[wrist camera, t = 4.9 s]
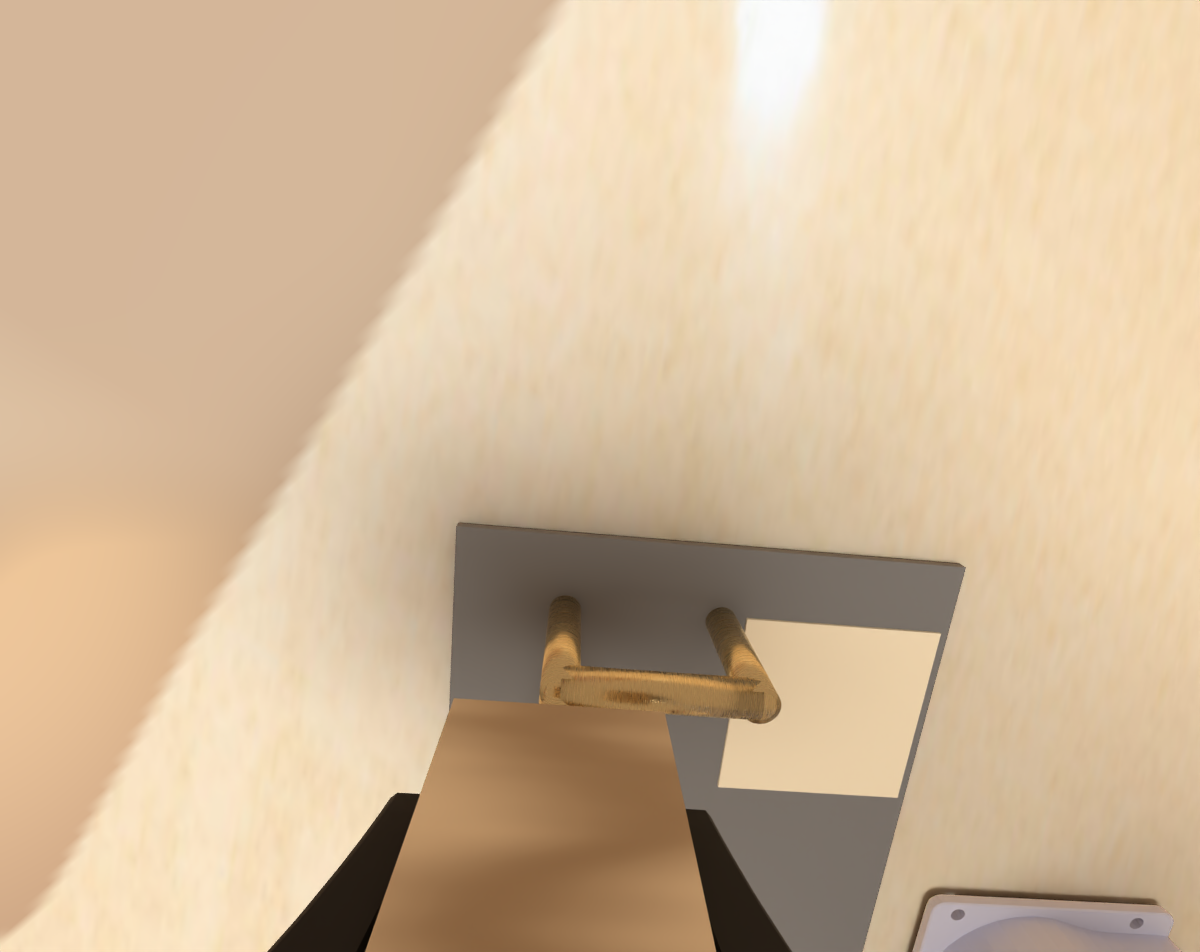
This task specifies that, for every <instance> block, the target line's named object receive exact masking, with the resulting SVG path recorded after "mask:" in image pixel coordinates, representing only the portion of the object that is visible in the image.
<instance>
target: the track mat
mask: <svg viewBox="0 0 1200 952" xmlns="http://www.w3.org/2000/svg"><path fill="white" fill-rule="evenodd" d="M965 568H966V567H964V566H962V565H961V564H956V563H944V562H931V561H919V560H907V559H895V558H882V557H870V556H858V555H846V554H833V553H821V552H809V551H797V550H784V549H772V548H760V547H748V546H735V545H723V544H711V543H699V542H686V541H674V540H662V539H650V538H637V537H625V536H613V535H601V534H588V533H576V532H564V531H552V530H539V529H527V528H515V527H503V526H490V525H478V524H466V523H458V524H457V526H456V550H455V576H454V602H453V628H452V654H451V680H450V706H449V711H450V708H451V705H452V702H453V699H454V698H458V699H473V700H489V701H504V702H520V703H535V704H539V695H540V694H539V692H540V683H541V675H542V666H543V658H544V650H545V641H546V633H547V625H548V616H549V608H550V605H551V603H552V601H553V600H554V599H556V598H557V597H559V596H564V595H567V596H571V597H573V598H575V599H576V600H577V601H578V602H579V604H580V606H581V666H590V667H604V668H619V669H633V670H648V671H662V672H676V673H691V674H705V675H719V676H727V675H726V673H725V671H724V668H723V666H722V663H721V661H720V659H719V656H718V654H717V651H716V649H715V647H714V644H713V642H712V639H711V637H710V635H709V632H708V630H707V627H706V623H705V622H706V617H707V615H708V614H709V613H710V612H711V611H712V610H714V609H716V608H720V607H724V608H728V609H730V610H732V611H733V612H734V614H735V616H736V617H737V619H738V621H739V623H740V625H741V627H742V629H743V630H744V632H745V634H746V636H747V638H748V640H749V642H750V643H751V645H752V647H753V649H754V651H755V653H756V655H757V656H758V658H759V660H760V662H761V664H762V666H763V668H764V669H765V671H766V673H767V675H768V677H769V679H770V681H771V683H772V684H773V686H774V688H775V690H776V692H777V694H778V696H779V697H780V700H781V710H780V713H779V714H778V716H777V717H776V718H775V719H773V720H772V721H770V722H768V723H764V724H755V723H752V722H750V721H748V720H744V719H729V718H714V717H698V716H683V715H668V714H665V716H666V721H667V726H668V730H669V735H670V739H671V744H672V749H673V753H674V758H675V763H676V767H677V772H678V777H679V781H680V786H681V791H682V795H683V800H684V804H685V809H696V810H706V811H707V813H708V814H709V815H710V816H711V818H712V820H713V822H714V824H715V825H716V827H717V829H718V831H719V833H720V835H721V836H722V838H723V840H724V842H725V844H726V845H727V847H728V849H729V851H730V852H731V854H732V856H733V858H734V859H735V861H736V863H737V865H738V866H739V868H740V870H741V871H742V873H743V875H744V876H745V878H746V880H747V881H748V883H749V885H750V886H751V888H752V890H753V891H754V893H755V895H756V896H757V898H758V899H759V901H760V903H761V904H762V906H763V907H764V909H765V911H766V912H767V914H768V915H769V917H770V918H771V920H772V921H773V923H774V925H775V926H776V928H777V929H778V931H779V932H780V934H781V935H782V937H783V938H784V940H785V942H786V943H787V945H788V946H789V948H790V949H791V951H792V952H862V951H863V948H864V944H865V940H866V936H867V933H868V929H869V925H870V921H871V918H872V914H873V910H874V907H875V903H876V899H877V895H878V892H879V888H880V884H881V881H882V877H883V873H884V869H885V866H886V862H887V858H888V855H889V851H890V847H891V843H892V840H893V836H894V832H895V829H896V825H897V821H898V817H899V814H900V810H901V806H902V802H903V799H904V795H905V791H906V788H907V784H908V780H909V776H910V773H911V769H912V765H913V762H914V758H915V754H916V750H917V747H918V743H919V739H920V736H921V732H922V728H923V724H924V721H925V717H926V713H927V710H928V706H929V702H930V698H931V695H932V691H933V687H934V683H935V680H936V676H937V672H938V669H939V665H940V661H941V657H942V654H943V650H944V646H945V643H946V639H947V635H948V631H949V628H950V624H951V620H952V617H953V613H954V609H955V605H956V602H957V598H958V594H959V591H960V587H961V583H962V579H963V576H964V572H965Z"/></svg>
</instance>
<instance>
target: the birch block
mask: <svg viewBox="0 0 1200 952" xmlns="http://www.w3.org/2000/svg"><path fill="white" fill-rule="evenodd" d="M365 952H716V948H715V944H714V939H713V934H712V930H711V925H710V920H709V916H708V911H707V907H706V902H705V897H704V893H703V888H702V883H701V879H700V874H699V869H698V865H697V860H696V855H695V851H694V846H693V842H692V837H691V832H690V828H689V823H688V818H687V814H686V809H685V804H684V800H683V795H682V791H681V786H680V781H679V777H678V772H677V767H676V763H675V758H674V753H673V749H672V744H671V739H670V735H669V730H668V726H667V721H666V716H665V712H659V711H644V710H628V709H613V708H597V707H582V706H566V705H551V704H535V703H520V702H504V701H489V700H473V699H458V698H454V699H453V702H452V705H451V708H450V711H449V713H448V716H447V719H446V722H445V725H444V728H443V731H442V733H441V736H440V739H439V742H438V745H437V748H436V751H435V753H434V756H433V759H432V762H431V765H430V768H429V771H428V773H427V776H426V779H425V782H424V785H423V788H422V791H421V793H420V796H419V799H418V802H417V805H416V808H415V811H414V813H413V816H412V819H411V822H410V825H409V828H408V831H407V833H406V836H405V839H404V842H403V845H402V848H401V851H400V853H399V856H398V859H397V862H396V865H395V868H394V871H393V873H392V876H391V879H390V882H389V885H388V888H387V891H386V893H385V896H384V899H383V902H382V905H381V908H380V911H379V913H378V916H377V919H376V922H375V925H374V928H373V931H372V933H371V936H370V939H369V942H368V945H367V948H366V951H365Z"/></svg>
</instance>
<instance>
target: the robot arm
mask: <svg viewBox="0 0 1200 952" xmlns="http://www.w3.org/2000/svg"><path fill="white" fill-rule="evenodd" d="M419 796H420V794H409V793H397V794H395V795H394V796H393V797H391V798H390V800H389V801H388V802H387V804H386V805H385V807H384V808H383V810H382V811H381V812H380V814H379V815H378V817H377V818H376V819H375V821H374V822H373V824H372V825H371V826H370V828H369V829H368V830H367V832H366V833H365V834H364V836H363V837H362V838H361V840H360V841H359V842H358V844H357V845H356V846H355V848H354V849H353V850H352V851H351V853H350V854H349V855H348V857H347V858H346V859H345V860H344V862H343V863H342V864H341V866H340V867H339V868H338V869H337V871H336V872H335V873H334V874H333V875H332V877H331V878H330V879H329V880H328V882H327V883H326V884H325V885H324V886H323V888H322V889H321V890H320V891H319V892H318V894H317V895H316V896H315V897H314V899H313V900H312V901H311V902H310V903H309V905H308V906H307V907H306V908H305V910H304V911H303V912H302V913H301V914H300V915H299V917H298V918H297V919H296V920H295V921H294V922H293V924H292V925H291V926H290V927H289V928H288V929H287V930H286V931H285V933H284V934H283V935H282V936H281V937H280V938H279V939H278V940H277V942H276V943H275V944H274V945H273V946H272V947H271V948H270V949H269V950H268V952H365V951H366V948H367V945H368V942H369V939H370V936H371V933H372V931H373V928H374V925H375V922H376V919H377V916H378V913H379V911H380V908H381V905H382V902H383V899H384V896H385V893H386V891H387V888H388V885H389V882H390V879H391V876H392V873H393V871H394V868H395V865H396V862H397V859H398V856H399V853H400V851H401V848H402V845H403V842H404V839H405V836H406V833H407V831H408V828H409V825H410V822H411V819H412V816H413V813H414V811H415V808H416V805H417V802H418V799H419ZM686 814H687V818H688V823H689V828H690V832H691V837H692V842H693V846H694V851H695V855H696V860H697V865H698V869H699V874H700V879H701V883H702V888H703V893H704V897H705V902H706V907H707V911H708V916H709V920H710V925H711V930H712V934H713V939H714V944H715V948H716V952H792V951H791V949H790V948H789V946H788V945H787V943H786V942H785V940H784V938H783V937H782V935H781V934H780V932H779V931H778V929H777V928H776V926H775V925H774V923H773V921H772V920H771V918H770V917H769V915H768V914H767V912H766V911H765V909H764V907H763V906H762V904H761V903H760V901H759V899H758V898H757V896H756V895H755V893H754V891H753V890H752V888H751V886H750V885H749V883H748V881H747V880H746V878H745V876H744V875H743V873H742V871H741V870H740V868H739V866H738V865H737V863H736V861H735V859H734V858H733V856H732V854H731V852H730V851H729V849H728V847H727V845H726V844H725V842H724V840H723V838H722V836H721V835H720V833H719V831H718V829H717V827H716V825H715V824H714V822H713V820H712V818H711V816H710V815H709V814H708V813H707V811H706V810H696V809H686ZM1173 922H1174V920H1173V917H1172V916H1171V915H1170V914H1169V913H1168V912H1167V911H1166V910H1165V909H1164V908H1163V907H1162V906H1158V905H1143V904H1123V903H1103V902H1083V901H1064V900H1044V899H1024V898H1004V897H985V896H965V895H945V894H940V895H935V896H933V897H931V898H930V899H929V900H928V902H927V904H926V907H925V911H924V914H923V918H922V921H921V924H920V928H919V931H918V934H917V938H916V941H915V945H914V948H913V951H912V952H1182V951H1181V950H1180V949H1179V948H1178V947H1177V946H1176V945H1175V944H1174V943H1173V942H1172V941H1171V940H1170V939H1169V938H1168V936H1169V933H1170V931H1171V929H1172V926H1173Z"/></svg>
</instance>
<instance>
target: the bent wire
mask: <svg viewBox="0 0 1200 952" xmlns="http://www.w3.org/2000/svg"><path fill="white" fill-rule="evenodd" d="M705 623H706V627H707V630H708V632H709V635H710V637H711V639H712V642H713V644H714V647H715V649H716V651H717V654H718V656H719V659H720V661H721V663H722V666H723V668H724V671H725V673H726V675H727V676H719V675H705V674H691V673H676V672H662V671H648V670H633V669H619V668H604V667H590V666H581V606H580V604H579V602H578V601H577V600H576V599H575V598H573V597H571V596H567V595H564V596H559V597H557V598H556V599H554V600H553V601H552V603H551V605H550V608H549V616H548V625H547V633H546V641H545V650H544V658H543V666H542V675H541V683H540V692H539V694H540V695H539V704H551V705H566V706H582V707H597V708H613V709H628V710H644V711H659V712H665V714H668V715H683V716H698V717H714V718H729V719H744V720H748V721H750V722H752V723H755V724H764V723H768V722H770V721H772V720H773V719H775V718H776V717H777V716H778V714H779V713H780V710H781V700H780V697H779V696H778V694H777V692H776V690H775V688H774V686H773V684H772V683H771V681H770V679H769V677H768V675H767V673H766V671H765V669H764V668H763V666H762V664H761V662H760V660H759V658H758V656H757V655H756V653H755V651H754V649H753V647H752V645H751V643H750V642H749V640H748V638H747V636H746V634H745V632H744V630H743V629H742V627H741V625H740V623H739V621H738V619H737V617H736V616H735V614H734V612H733V611H732V610H730V609H728V608H724V607H720V608H716V609H714V610H712V611H711V612H710V613H709V614H708V615H707V617H706V622H705Z"/></svg>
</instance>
